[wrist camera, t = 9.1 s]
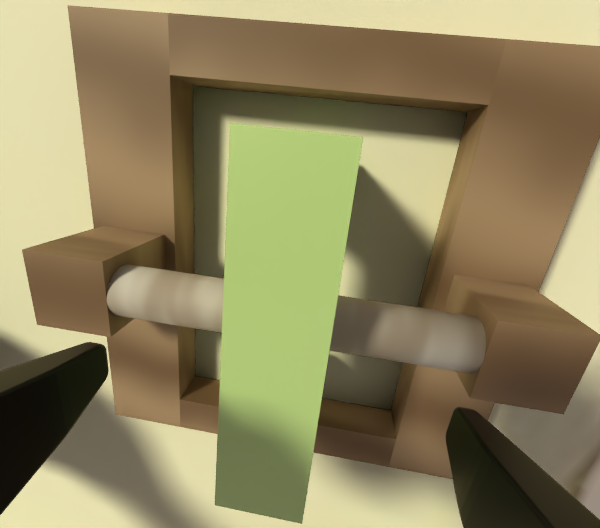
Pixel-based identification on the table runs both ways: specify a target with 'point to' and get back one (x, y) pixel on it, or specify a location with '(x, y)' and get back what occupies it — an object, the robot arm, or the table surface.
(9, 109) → the table surface
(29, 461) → the robot arm
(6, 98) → the table surface
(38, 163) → the table surface
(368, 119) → the table surface
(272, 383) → the green bridge block
